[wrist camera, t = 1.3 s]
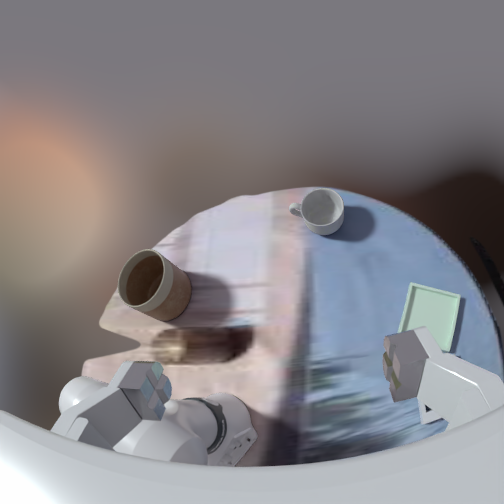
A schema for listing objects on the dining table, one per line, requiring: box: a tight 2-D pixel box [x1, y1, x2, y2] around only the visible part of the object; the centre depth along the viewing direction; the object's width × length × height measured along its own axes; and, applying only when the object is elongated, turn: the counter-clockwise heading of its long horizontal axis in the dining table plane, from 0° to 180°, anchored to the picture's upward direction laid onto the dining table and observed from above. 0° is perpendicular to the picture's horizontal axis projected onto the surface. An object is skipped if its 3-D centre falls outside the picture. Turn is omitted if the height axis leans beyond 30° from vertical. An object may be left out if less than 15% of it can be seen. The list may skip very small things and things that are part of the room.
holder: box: [418, 354, 455, 424], centre depth 46 cm, size 13×10×2 cm
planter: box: [118, 249, 191, 321], centre depth 75 cm, size 16×16×14 cm
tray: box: [397, 282, 461, 353], centre depth 54 cm, size 13×13×2 cm
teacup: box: [289, 188, 344, 235], centre depth 72 cm, size 14×11×8 cm
